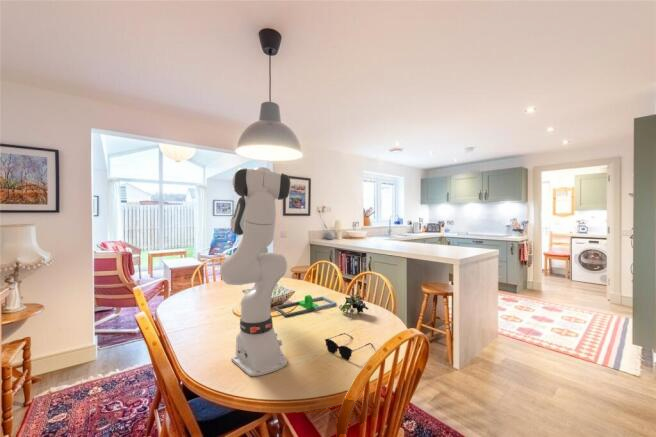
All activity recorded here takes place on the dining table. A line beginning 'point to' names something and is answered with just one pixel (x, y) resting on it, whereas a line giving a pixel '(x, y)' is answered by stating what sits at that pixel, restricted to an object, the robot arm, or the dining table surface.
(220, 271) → the robot arm
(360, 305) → the green leafy plant
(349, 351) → the sunglasses
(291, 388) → the dining table surface
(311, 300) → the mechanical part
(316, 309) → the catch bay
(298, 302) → the seat frame
